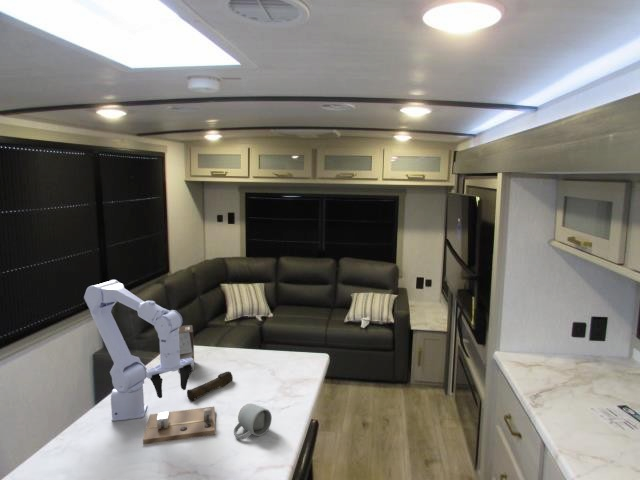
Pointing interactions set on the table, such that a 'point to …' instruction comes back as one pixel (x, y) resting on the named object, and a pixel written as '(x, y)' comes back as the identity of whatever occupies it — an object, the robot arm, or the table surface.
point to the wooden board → (181, 425)
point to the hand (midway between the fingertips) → (171, 392)
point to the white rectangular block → (163, 420)
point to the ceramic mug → (253, 421)
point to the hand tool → (210, 386)
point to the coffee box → (186, 342)
